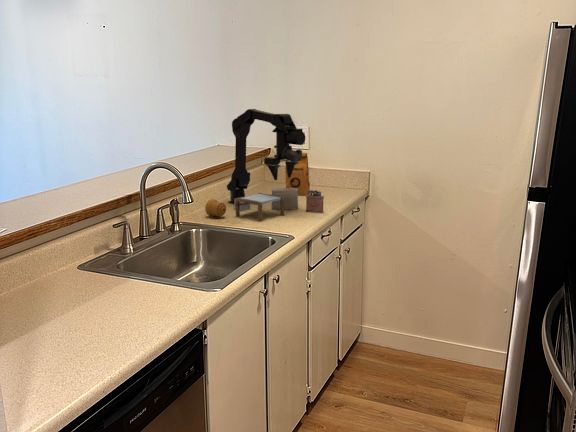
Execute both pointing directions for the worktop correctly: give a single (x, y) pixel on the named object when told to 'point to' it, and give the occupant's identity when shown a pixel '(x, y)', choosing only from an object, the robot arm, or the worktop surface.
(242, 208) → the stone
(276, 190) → the grey block
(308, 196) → the lighter
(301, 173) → the coffee package
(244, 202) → the stand
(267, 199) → the trapdoor
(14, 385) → the worktop surface
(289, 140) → the robot arm
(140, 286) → the worktop surface
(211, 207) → the ornamental finial
